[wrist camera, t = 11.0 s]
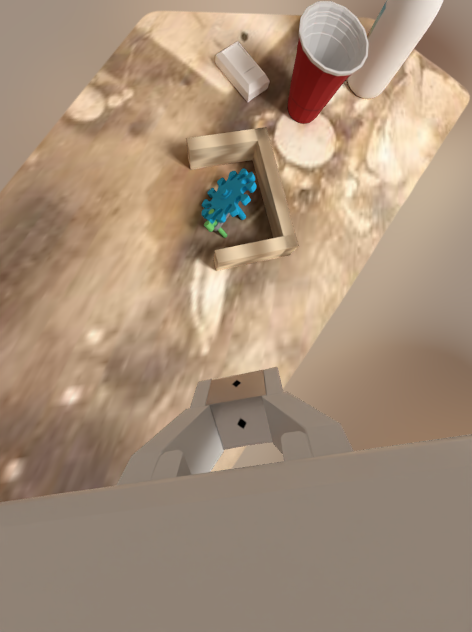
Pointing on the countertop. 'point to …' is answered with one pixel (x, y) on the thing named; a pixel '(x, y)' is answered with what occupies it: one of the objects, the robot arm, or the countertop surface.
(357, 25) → the plastic cup
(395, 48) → the milk bottle
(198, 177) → the countertop surface
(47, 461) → the countertop surface
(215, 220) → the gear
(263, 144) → the carrier pocket
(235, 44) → the soap bar
